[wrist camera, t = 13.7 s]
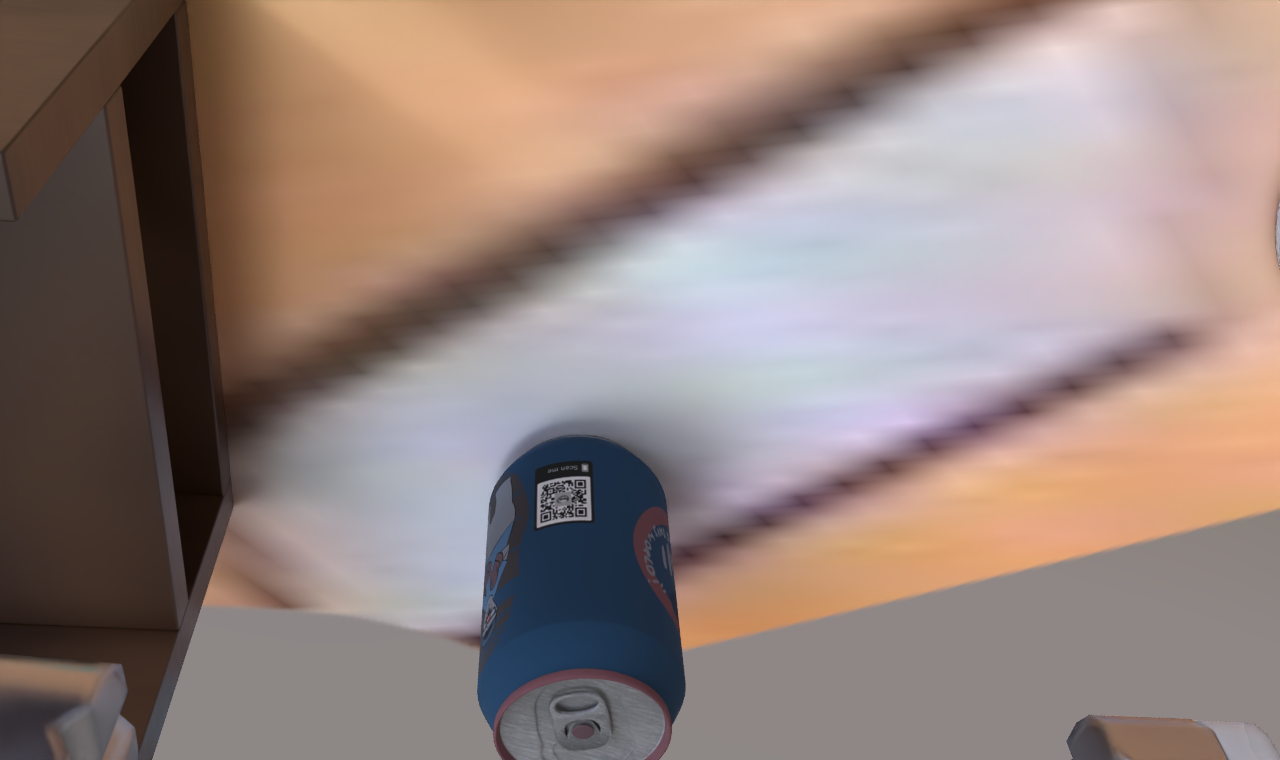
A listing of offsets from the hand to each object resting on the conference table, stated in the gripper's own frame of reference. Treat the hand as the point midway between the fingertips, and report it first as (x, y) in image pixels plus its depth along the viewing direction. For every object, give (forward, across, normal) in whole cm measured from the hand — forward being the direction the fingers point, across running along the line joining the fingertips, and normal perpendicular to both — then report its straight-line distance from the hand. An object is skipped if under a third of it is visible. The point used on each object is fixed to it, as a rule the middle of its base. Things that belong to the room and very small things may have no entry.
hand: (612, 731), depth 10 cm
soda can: (+30, -2, +23) cm, 38 cm away
